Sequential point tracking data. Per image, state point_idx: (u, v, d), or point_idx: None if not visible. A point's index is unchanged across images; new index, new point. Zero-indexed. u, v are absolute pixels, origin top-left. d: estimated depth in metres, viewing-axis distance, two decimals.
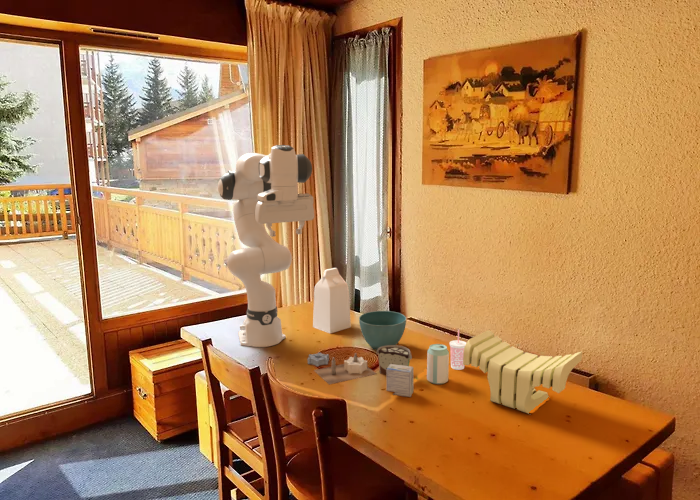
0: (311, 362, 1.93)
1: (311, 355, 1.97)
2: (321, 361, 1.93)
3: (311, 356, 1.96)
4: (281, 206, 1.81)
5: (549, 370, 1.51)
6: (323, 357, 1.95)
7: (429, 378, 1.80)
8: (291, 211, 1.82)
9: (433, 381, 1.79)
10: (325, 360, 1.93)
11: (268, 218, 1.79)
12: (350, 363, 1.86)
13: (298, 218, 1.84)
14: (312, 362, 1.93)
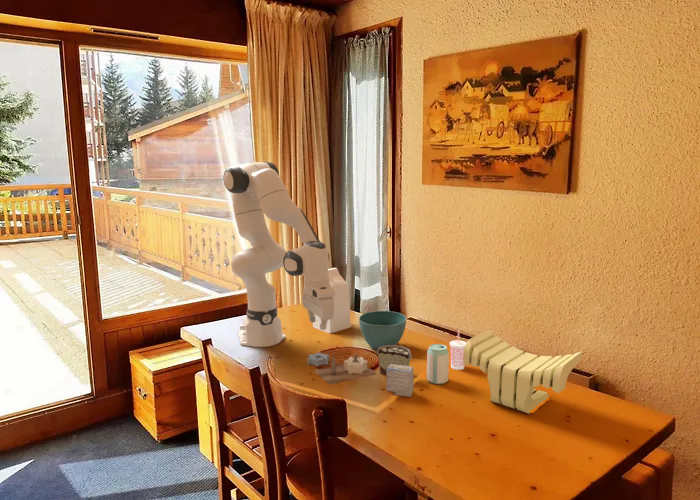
0: (311, 362, 1.93)
1: (311, 355, 1.97)
2: (321, 361, 1.93)
3: (311, 356, 1.96)
4: None
5: (549, 370, 1.51)
6: (323, 357, 1.95)
7: (429, 378, 1.80)
8: None
9: (433, 381, 1.79)
10: (325, 360, 1.93)
11: None
12: (350, 363, 1.86)
13: None
14: (312, 362, 1.93)
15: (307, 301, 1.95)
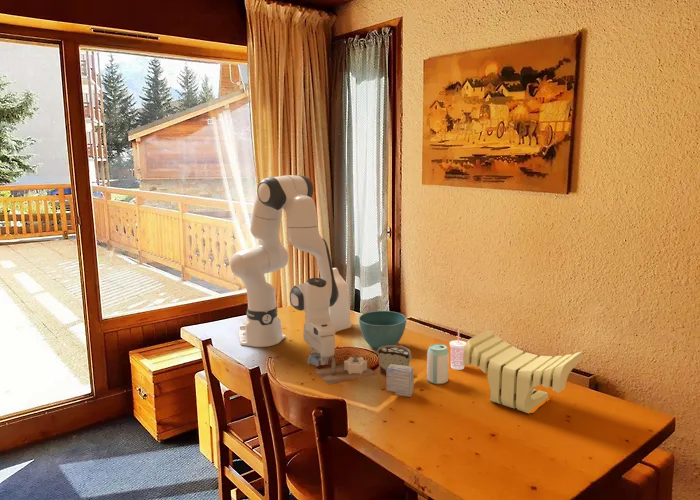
0: (311, 362, 1.93)
1: (311, 355, 1.97)
2: None
3: (311, 356, 1.96)
4: None
5: (549, 370, 1.51)
6: None
7: (429, 378, 1.80)
8: None
9: (433, 381, 1.79)
10: None
11: None
12: (350, 363, 1.86)
13: None
14: (312, 362, 1.93)
15: (308, 336, 1.98)
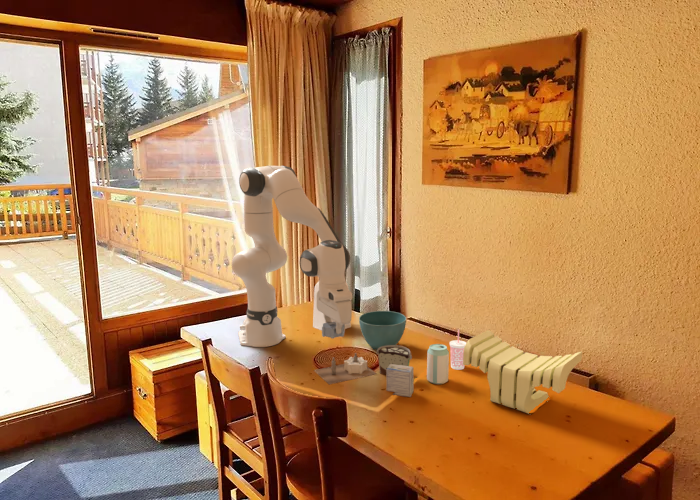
0: (326, 331, 1.80)
1: (325, 324, 1.83)
2: None
3: (325, 325, 1.82)
4: None
5: (549, 370, 1.51)
6: None
7: (429, 378, 1.80)
8: None
9: (433, 381, 1.79)
10: (341, 328, 1.79)
11: None
12: (350, 363, 1.86)
13: None
14: (327, 331, 1.80)
15: (322, 304, 1.84)
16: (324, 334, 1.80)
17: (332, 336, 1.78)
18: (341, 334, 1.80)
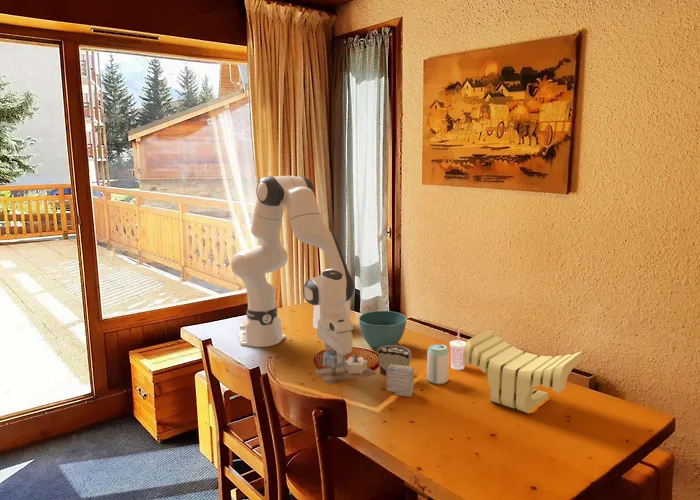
0: (327, 360, 1.82)
1: (326, 352, 1.85)
2: None
3: (326, 354, 1.84)
4: None
5: (549, 370, 1.51)
6: None
7: (429, 378, 1.80)
8: None
9: (433, 381, 1.79)
10: None
11: None
12: (350, 363, 1.86)
13: None
14: (328, 360, 1.81)
15: (323, 333, 1.86)
16: (325, 363, 1.82)
17: (333, 365, 1.80)
18: (342, 363, 1.82)
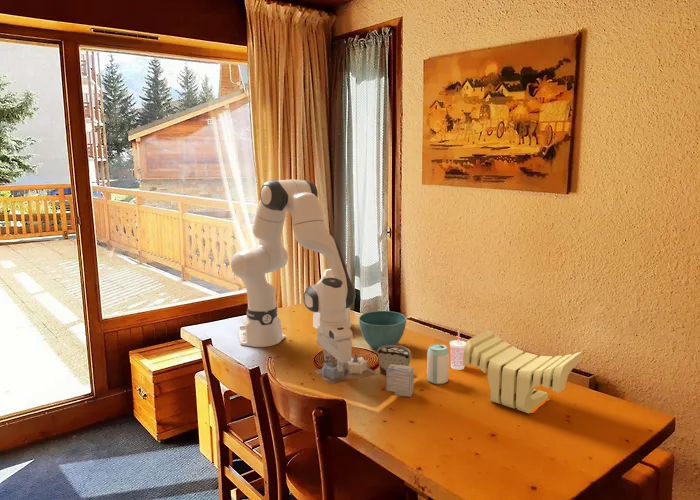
0: (326, 371, 1.82)
1: (326, 364, 1.86)
2: None
3: (326, 365, 1.85)
4: None
5: (549, 370, 1.51)
6: None
7: (429, 378, 1.80)
8: None
9: (433, 381, 1.79)
10: None
11: None
12: (350, 363, 1.86)
13: None
14: (327, 371, 1.82)
15: (322, 340, 1.86)
16: (324, 374, 1.83)
17: (332, 377, 1.81)
18: (341, 374, 1.82)
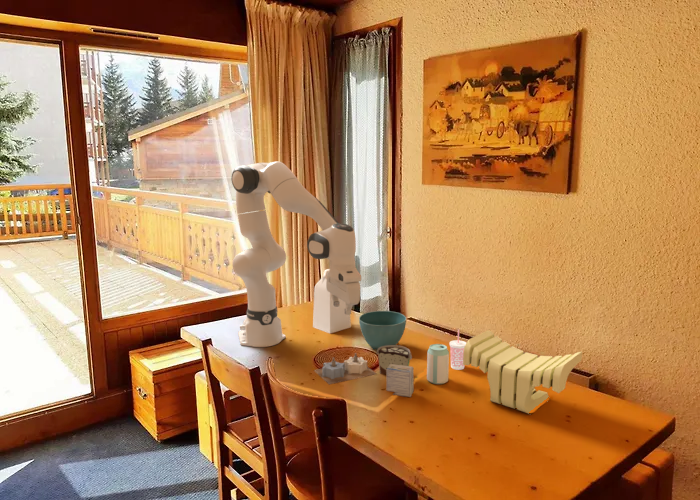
0: (326, 371, 1.82)
1: (326, 364, 1.86)
2: (337, 370, 1.82)
3: (326, 365, 1.85)
4: None
5: (549, 370, 1.51)
6: (339, 366, 1.84)
7: (429, 378, 1.80)
8: None
9: (433, 381, 1.79)
10: (341, 369, 1.82)
11: None
12: (350, 363, 1.86)
13: None
14: (327, 371, 1.82)
15: (331, 285, 1.90)
16: (324, 374, 1.83)
17: (332, 377, 1.81)
18: (341, 374, 1.82)
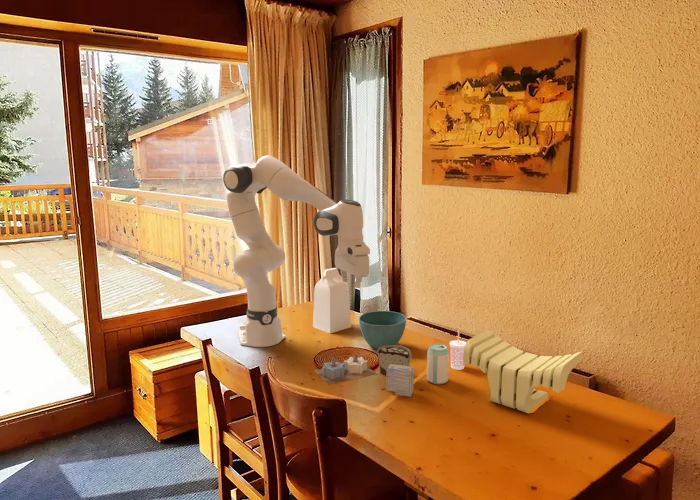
0: (326, 371, 1.82)
1: (326, 364, 1.86)
2: (337, 370, 1.82)
3: (326, 365, 1.85)
4: None
5: (549, 370, 1.51)
6: (339, 366, 1.84)
7: (429, 378, 1.80)
8: None
9: (433, 381, 1.79)
10: (341, 369, 1.82)
11: None
12: (350, 363, 1.86)
13: None
14: (327, 371, 1.82)
15: (340, 261, 1.95)
16: (324, 374, 1.83)
17: (332, 377, 1.81)
18: (341, 374, 1.82)
